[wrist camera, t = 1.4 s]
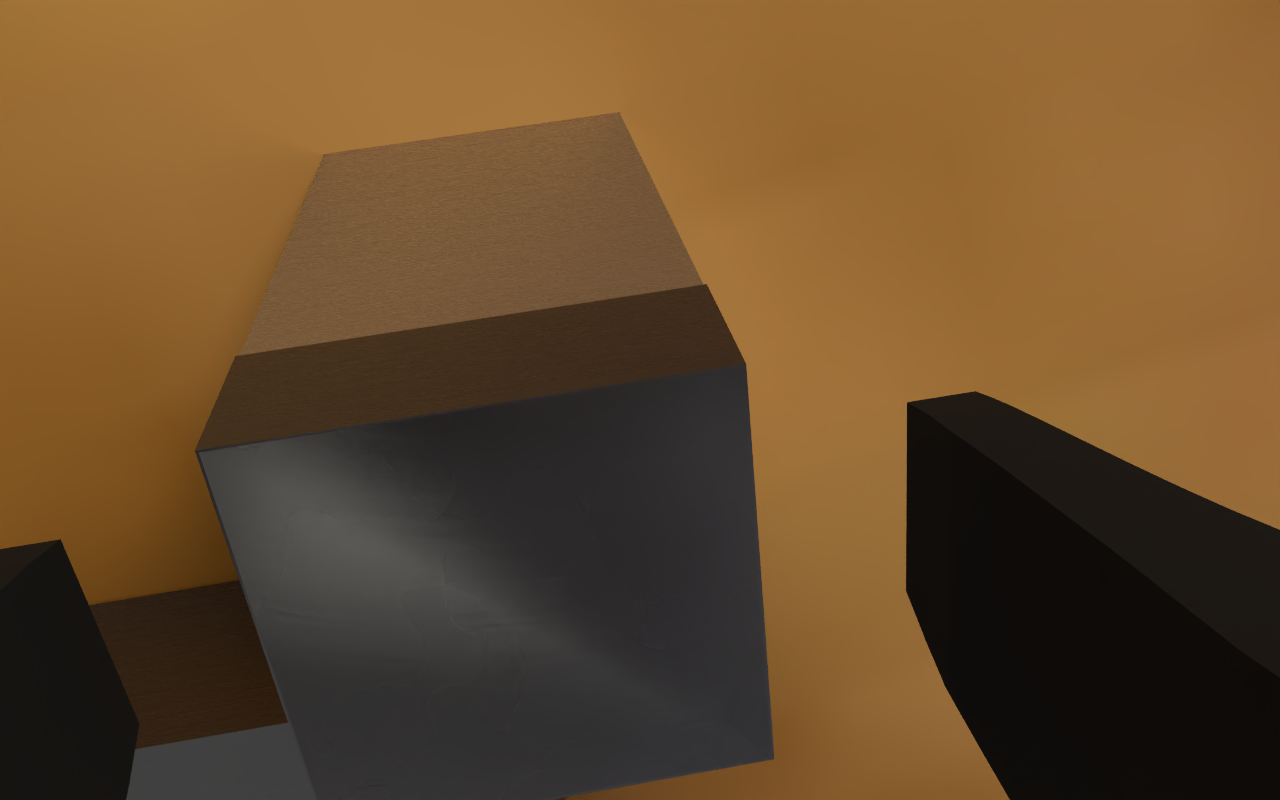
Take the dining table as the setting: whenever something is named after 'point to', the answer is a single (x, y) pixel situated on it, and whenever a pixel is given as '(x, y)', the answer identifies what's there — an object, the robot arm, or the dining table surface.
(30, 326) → the dining table surface
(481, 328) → the key peg
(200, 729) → the socket block
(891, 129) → the dining table surface
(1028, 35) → the dining table surface
